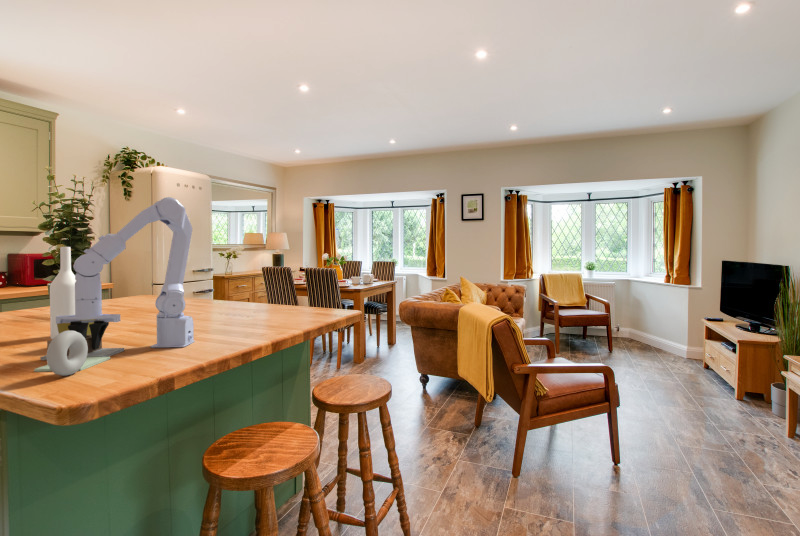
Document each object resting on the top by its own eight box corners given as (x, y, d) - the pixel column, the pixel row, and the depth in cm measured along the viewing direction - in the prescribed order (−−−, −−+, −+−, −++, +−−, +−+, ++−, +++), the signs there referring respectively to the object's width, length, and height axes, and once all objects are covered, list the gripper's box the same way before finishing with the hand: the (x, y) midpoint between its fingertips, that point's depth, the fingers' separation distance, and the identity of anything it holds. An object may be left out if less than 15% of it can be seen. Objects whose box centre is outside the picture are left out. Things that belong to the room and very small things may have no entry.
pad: (110, 359, 104) (110, 356, 104) (80, 370, 93) (80, 368, 93) (69, 359, 103) (69, 357, 103) (34, 371, 92) (34, 369, 92)
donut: (76, 369, 95) (75, 327, 95) (91, 368, 95) (91, 326, 95) (42, 381, 85) (41, 334, 85) (59, 381, 85) (58, 334, 85)
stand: (124, 350, 114) (124, 335, 114) (102, 359, 104) (102, 342, 104) (67, 351, 113) (67, 336, 112) (40, 360, 103) (40, 343, 103)
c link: (101, 348, 113) (101, 334, 113) (80, 355, 104) (80, 340, 104) (71, 349, 112) (71, 334, 112) (47, 356, 104) (47, 341, 104)
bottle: (56, 341, 126) (54, 246, 126) (46, 338, 131) (44, 246, 130) (86, 337, 133) (85, 247, 133) (76, 335, 137) (75, 247, 137)
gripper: (125, 297, 114) (126, 345, 114) (67, 298, 111) (67, 347, 111) (112, 299, 107) (113, 350, 107) (50, 300, 104) (51, 352, 104)
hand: (89, 349), depth 109 cm, fingers closed
